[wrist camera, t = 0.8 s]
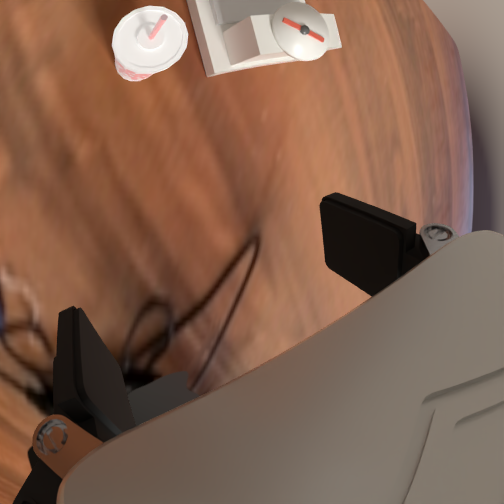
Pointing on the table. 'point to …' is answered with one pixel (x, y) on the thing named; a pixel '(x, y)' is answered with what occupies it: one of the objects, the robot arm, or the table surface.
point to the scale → (259, 33)
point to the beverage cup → (148, 42)
